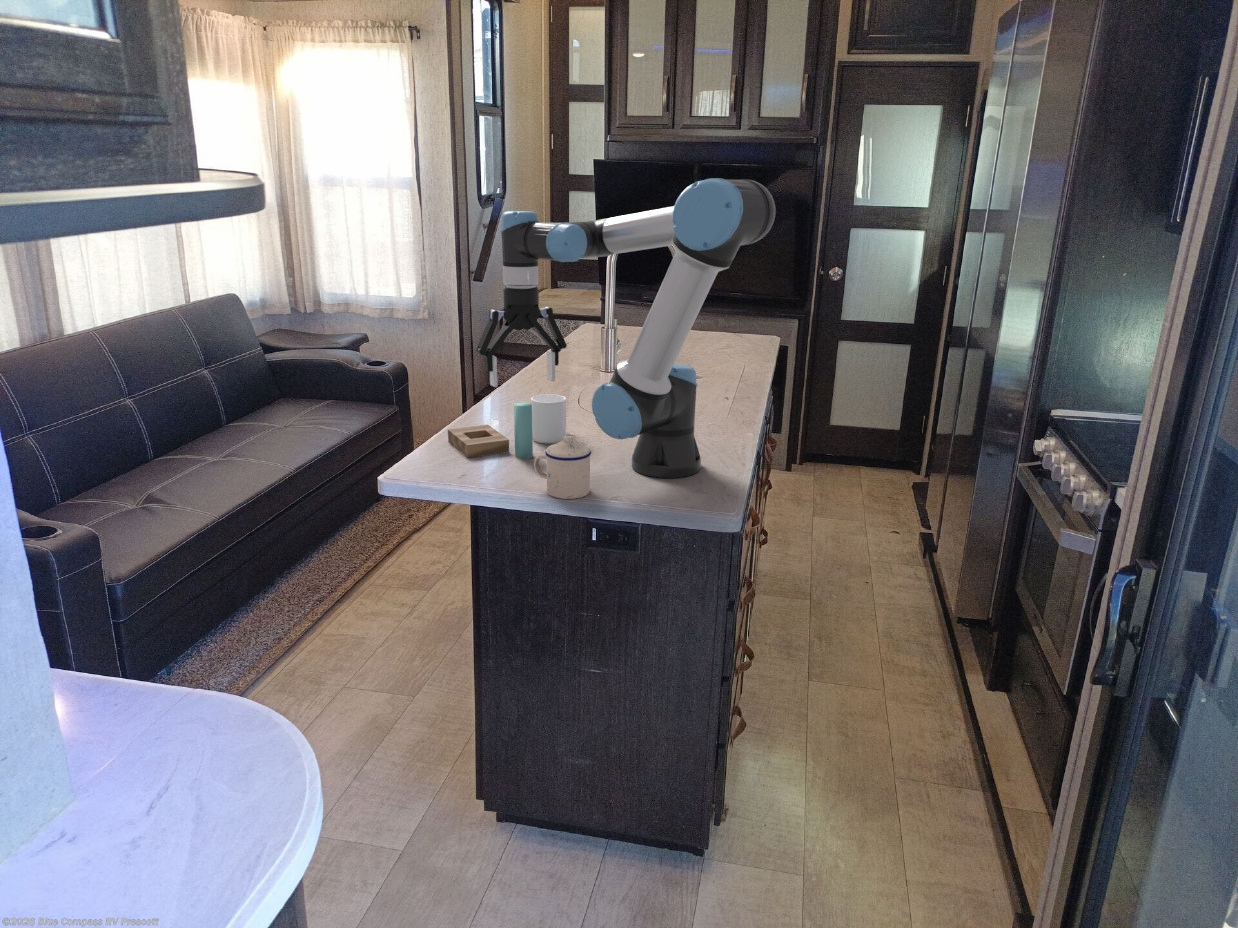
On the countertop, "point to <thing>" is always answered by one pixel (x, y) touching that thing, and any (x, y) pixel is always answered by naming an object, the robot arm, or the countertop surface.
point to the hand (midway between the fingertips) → (523, 383)
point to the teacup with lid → (566, 469)
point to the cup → (548, 418)
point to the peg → (523, 430)
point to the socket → (478, 441)
